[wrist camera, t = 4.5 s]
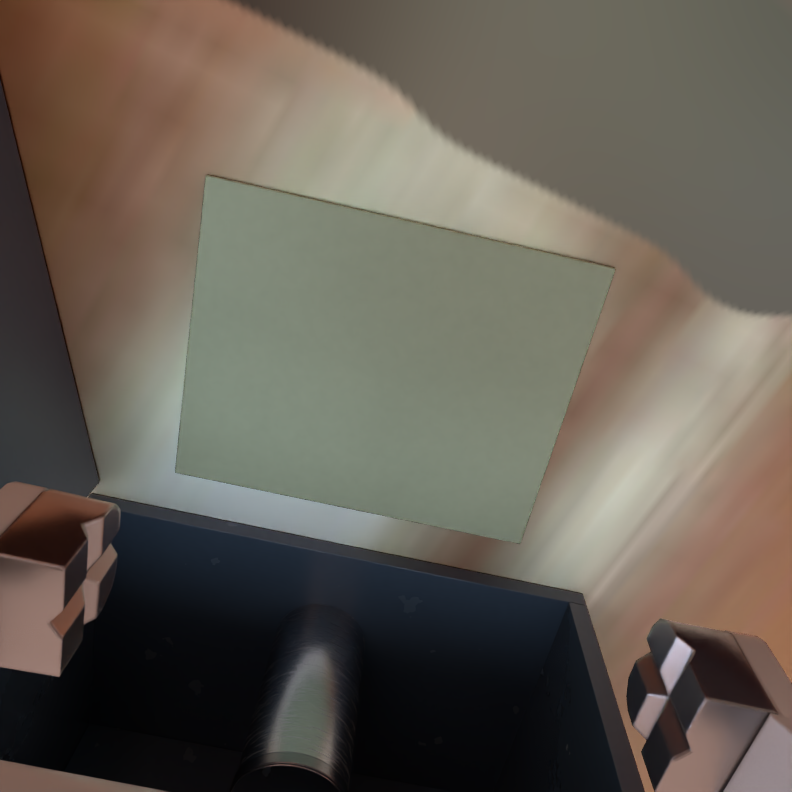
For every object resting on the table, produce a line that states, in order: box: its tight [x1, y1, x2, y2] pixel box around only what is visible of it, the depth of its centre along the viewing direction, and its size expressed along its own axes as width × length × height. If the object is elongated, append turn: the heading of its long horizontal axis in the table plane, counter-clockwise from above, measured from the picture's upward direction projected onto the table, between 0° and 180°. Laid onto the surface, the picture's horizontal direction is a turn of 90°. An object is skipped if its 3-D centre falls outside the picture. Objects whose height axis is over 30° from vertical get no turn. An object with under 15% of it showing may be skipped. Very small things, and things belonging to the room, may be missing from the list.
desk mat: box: [175, 175, 615, 544], centre depth 40 cm, size 18×22×1 cm
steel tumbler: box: [230, 604, 365, 792], centre depth 41 cm, size 6×6×12 cm
